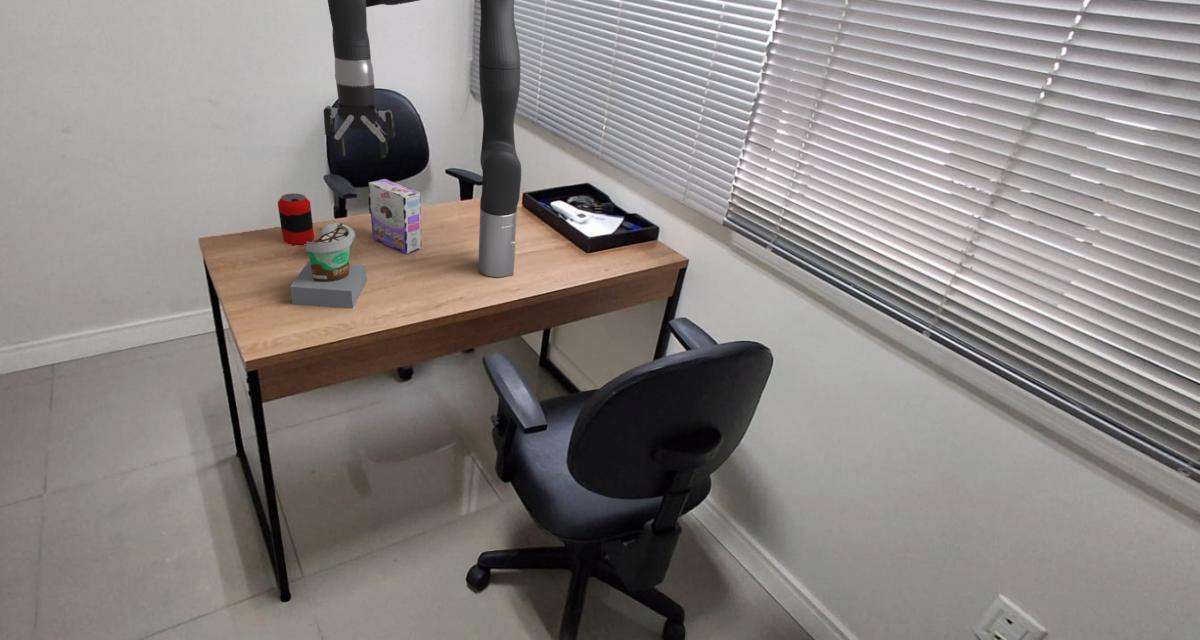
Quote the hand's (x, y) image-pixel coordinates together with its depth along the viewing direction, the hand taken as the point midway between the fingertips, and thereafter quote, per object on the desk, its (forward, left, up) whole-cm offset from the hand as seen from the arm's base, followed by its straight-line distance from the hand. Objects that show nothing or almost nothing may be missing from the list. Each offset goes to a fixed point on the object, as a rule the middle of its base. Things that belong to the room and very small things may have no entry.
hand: (363, 156), depth 138 cm
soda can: (+21, -18, -30) cm, 41 cm away
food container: (+6, +9, -26) cm, 28 cm away
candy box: (-4, -19, -30) cm, 36 cm away
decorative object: (+9, -9, -30) cm, 33 cm away
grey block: (+7, +10, -31) cm, 33 cm away
